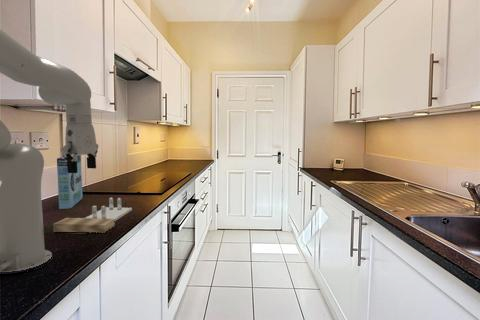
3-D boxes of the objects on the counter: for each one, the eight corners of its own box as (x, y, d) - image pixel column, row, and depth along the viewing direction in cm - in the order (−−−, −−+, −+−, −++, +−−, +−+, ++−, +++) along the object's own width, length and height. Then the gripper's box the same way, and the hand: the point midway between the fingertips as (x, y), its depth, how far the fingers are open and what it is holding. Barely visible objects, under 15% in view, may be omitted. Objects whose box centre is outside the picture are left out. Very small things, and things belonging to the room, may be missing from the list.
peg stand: (110, 224, 107) (110, 208, 106) (79, 223, 107) (78, 207, 107) (132, 209, 126) (131, 196, 125) (105, 209, 126) (105, 196, 126)
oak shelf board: (114, 228, 104) (114, 218, 103) (104, 235, 97) (104, 225, 96) (66, 227, 104) (66, 217, 104) (53, 233, 97) (53, 223, 97)
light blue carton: (72, 199, 144) (70, 154, 142) (83, 198, 146) (81, 154, 143) (58, 209, 126) (55, 158, 123) (71, 208, 127) (68, 157, 124)
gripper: (71, 121, 88) (74, 175, 90) (104, 121, 105) (107, 167, 107) (49, 120, 89) (53, 174, 91) (86, 121, 106) (89, 166, 108)
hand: (82, 170), depth 99 cm, fingers open, 9 cm apart
